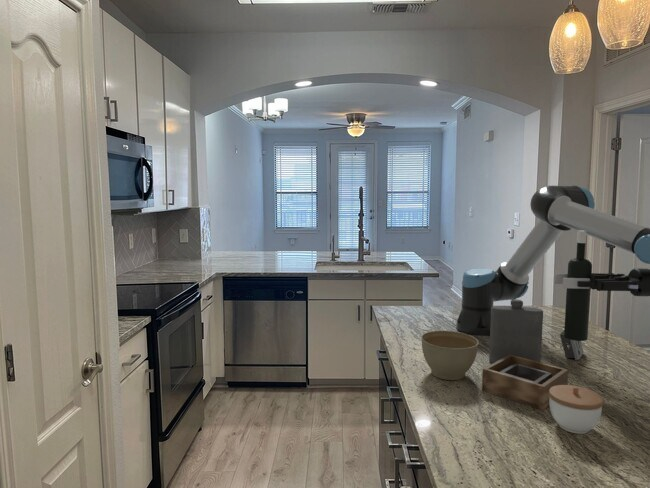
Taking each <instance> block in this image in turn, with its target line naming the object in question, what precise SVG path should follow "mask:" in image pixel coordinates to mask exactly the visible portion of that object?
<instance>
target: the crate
mask: <svg viewBox="0 0 650 488" xmlns="http://www.w3.org/2000/svg"><path fill="white" fill-rule="evenodd" d="M481 380H482V383H481V390H482V391H484V392H486V393H490V394H493V395H495V396H499V397H501V398H504V399H507V400H510V401H513V402H516V403H520V404H523V405H525V406H528V407H532V408H534V409H538V410H541V411H544V410H545V409H546V408H548V407H550V406H549V389H550V388H551V387H553V386H557V385H568V380H569V369H568V368H563V367H561V366H556V365H552V364H547V363H543V362H542V361H541V362H537V361H533V360H529V359H525V358H522V357H518V356H514V355H508V356H506V357H504V358H502V359H500V360H498V361H496V362H495V363H491V364H488V365H487V366H485V367H484V368H482V377H481Z"/></svg>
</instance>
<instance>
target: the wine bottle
mask: <svg viewBox="0 0 650 488" xmlns="http://www.w3.org/2000/svg"><path fill="white" fill-rule="evenodd" d="M586 233H587V231H586V230H578V231H577V232H576V235H577V236H576V253H575V254H576V257H575V258H572V259H570V260H569V261H568V262H567V263H568V264H567V273H566V274H567V278H589V279H590V281H591V276H592V273H593V272H592V271H593V264H592V262H591V261H590V260H589V259H586V255H585V254H586V244H587V235H586ZM591 291H592V289H591V287H590V289H577V288H566V293H565V294H566V296H565V310H564V312H565V313H564V326H563V328H564V330H563V331H564V337H565V338H567V339H570V340H575V341H581V342H585V341H588V338H589V324H590V323H589V321H590V309H591V308H590V305H591Z"/></svg>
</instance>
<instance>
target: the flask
mask: <svg viewBox="0 0 650 488" xmlns="http://www.w3.org/2000/svg"><path fill="white" fill-rule="evenodd" d="M523 305H524V302H523V300H522V299H518V298H516V299H513V300H510V305H493V307H491V327H490V336H489V355H488V357H489V358H488V360H489V362H490V363H491V364H493V363H495V362H496V361H498V360H500V359H502V358H504V357H506V356H508V355H514V356H518V357H522V358H525V359H529V360H533V361H537V362H541V363H542V361H541V359H542V343H543V341H542V340H543V327H544V326H543V323H544V322H543V321H544V310H542V309H541V308H537V307H531V306H523Z"/></svg>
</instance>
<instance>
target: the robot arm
mask: <svg viewBox="0 0 650 488" xmlns="http://www.w3.org/2000/svg"><path fill="white" fill-rule="evenodd" d="M529 207H530V210H531V212H532V214H533V216H535V217H536V219H538V221H537V223H536V224H535V225H534V226H533V228H532V229H531V230H530V232H529V233H528V235H527V236H525V239H524V240H523V241H522V243H521V244H520V245H519V246H518V248H517V249H516V250H515V251H514V254H512V256H511V257H510V258H509V260H508V261H504V262H501V264H500V265H499V267H498V268H497V269H496V270H493V269H492V268H486V267H485V268H483V267H482V268H472V269H469V270H467V271H465V272H463V275H462V281H461V310H460V313H459V315H458V318H457V320H456V330H458V331H459V332H461V333H464V334H468V335H476V336H479V335H480V336H487V335H490V327H491V307H493V306H494V302H499V301H501V302H502V301H511V300H513V299H519V298H522V297H523V296H525V294H526V293H527V292H528V289H529V285H528V284H530V283H529V281H530V276H529V274H530V273H531V272H532V271H533V269H534V268H535V267H536V265H538V264H539V262H540V261H541V259H543V257H544V256H545V255H546V253H547V252H548V251H549V249H550V248H551V247H552V246H553V245H554V244H555V242H556V241H557V240H558V238H559V237H560V236H561V235H562V233H563V232H569V231H571V230H574V231H578V230H586V231H587V233H586V236H588V237H591V238H594V239H597V240H599V241H602V242H604V243H606V244H609V245H611V246H615V247H616V248H619V249H622V250H624V251H627V252H629V253H632V254H635V257H637V259H638V260H639V261H640V262H642V263H644V264H648V265H650V228H649V227H647V226H644V225H641V224H640V223H639V224H638V223H635V222H633V221H629V220H628V219H624V218H621V217H618V216H615V215H612V214H609V213H607V212H603V211H600V210H597V209H595V198H594V195H593V194H592V192H591V191H590V190H589V189H588V188H586V187H585V186H581V185H579V186H578V185H572V184H571V185H546V186H543V187H540V188H539V189H537V190H536V191H535V192H534V194H533V195H532V196H531V199H530V205H529ZM553 274H554V275H553V276H554V277H553V284H562V288H563V289H567V288H577V289H590V287H591V290H596V291H597V292H604V291H605V292H607V291H608V292H629V293H630V294H631V295H632V296H635V297H650V268H641V267H640V268H633V269H631V270H630V271H629V273H628V274H627V275H625V273H616V274H615V273H613V272H610V273H608V272H607V273H604V272H603V273H599V272H598V273H597V272H592V276H591V281H590V279H589V278H567V274H568V273H553Z"/></svg>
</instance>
